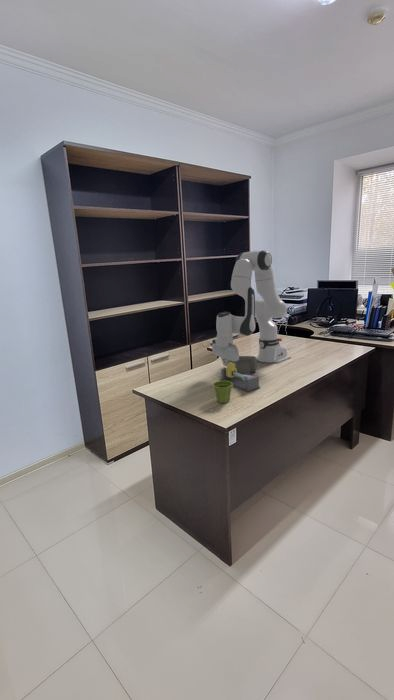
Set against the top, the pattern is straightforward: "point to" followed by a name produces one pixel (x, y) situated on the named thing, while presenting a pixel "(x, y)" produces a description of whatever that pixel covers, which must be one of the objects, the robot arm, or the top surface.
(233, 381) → the grey rectangular frame
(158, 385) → the top surface
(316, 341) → the top surface
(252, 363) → the digital clock
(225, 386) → the plant pot
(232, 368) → the yellow stepped block
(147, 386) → the top surface
